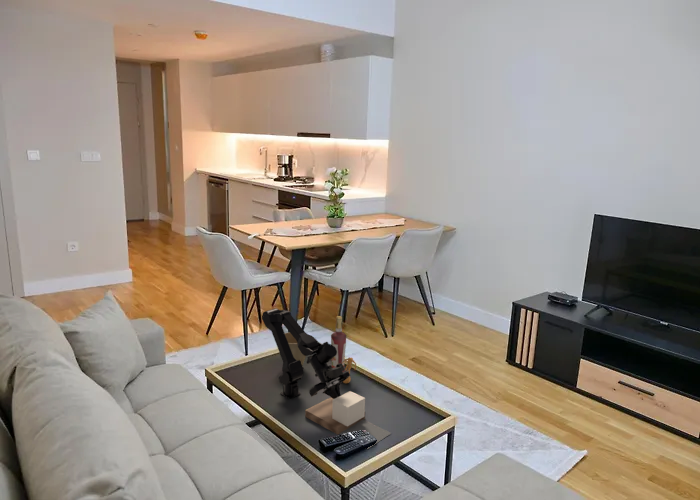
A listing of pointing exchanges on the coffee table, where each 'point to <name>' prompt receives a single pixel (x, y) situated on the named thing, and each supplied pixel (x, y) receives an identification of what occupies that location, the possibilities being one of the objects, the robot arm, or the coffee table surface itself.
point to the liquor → (338, 343)
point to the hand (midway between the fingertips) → (340, 402)
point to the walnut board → (326, 416)
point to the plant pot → (295, 348)
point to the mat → (369, 430)
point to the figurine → (349, 368)
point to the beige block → (348, 408)
